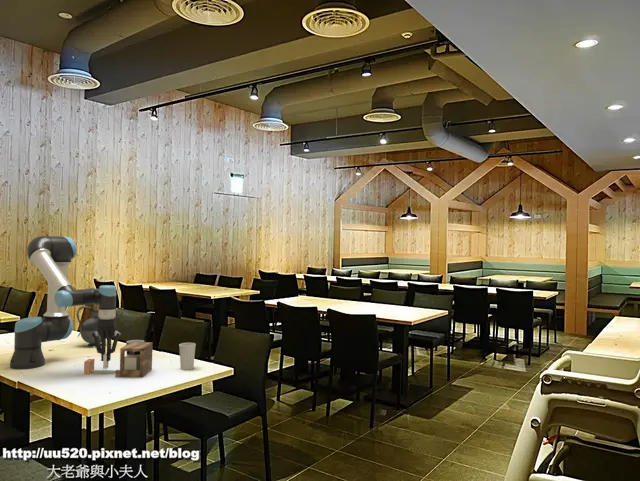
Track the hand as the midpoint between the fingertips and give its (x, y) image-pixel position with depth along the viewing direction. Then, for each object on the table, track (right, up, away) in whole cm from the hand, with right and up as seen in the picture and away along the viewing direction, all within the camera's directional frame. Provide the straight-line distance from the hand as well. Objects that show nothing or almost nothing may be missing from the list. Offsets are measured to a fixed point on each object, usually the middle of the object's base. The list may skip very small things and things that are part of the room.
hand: (105, 367), depth 239 cm
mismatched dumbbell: (+3, -3, 0) cm, 4 cm away
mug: (+5, -3, +27) cm, 28 cm away
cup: (+35, -4, +12) cm, 38 cm away
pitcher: (-35, -3, +62) cm, 71 cm away
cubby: (+13, -3, +1) cm, 14 cm away
